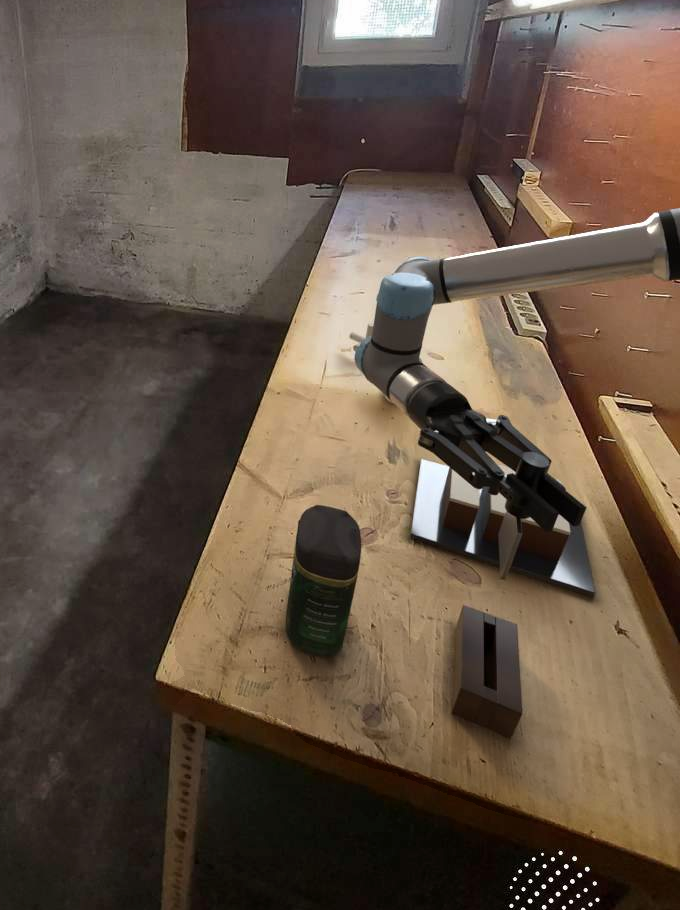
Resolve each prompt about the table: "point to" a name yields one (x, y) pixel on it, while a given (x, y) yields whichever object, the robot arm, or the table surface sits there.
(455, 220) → the table surface
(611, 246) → the robot arm
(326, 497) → the table surface
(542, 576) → the cake board
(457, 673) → the knife block
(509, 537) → the knife
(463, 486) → the cake slice
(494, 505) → the cake
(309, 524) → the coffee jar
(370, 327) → the pipe connector
